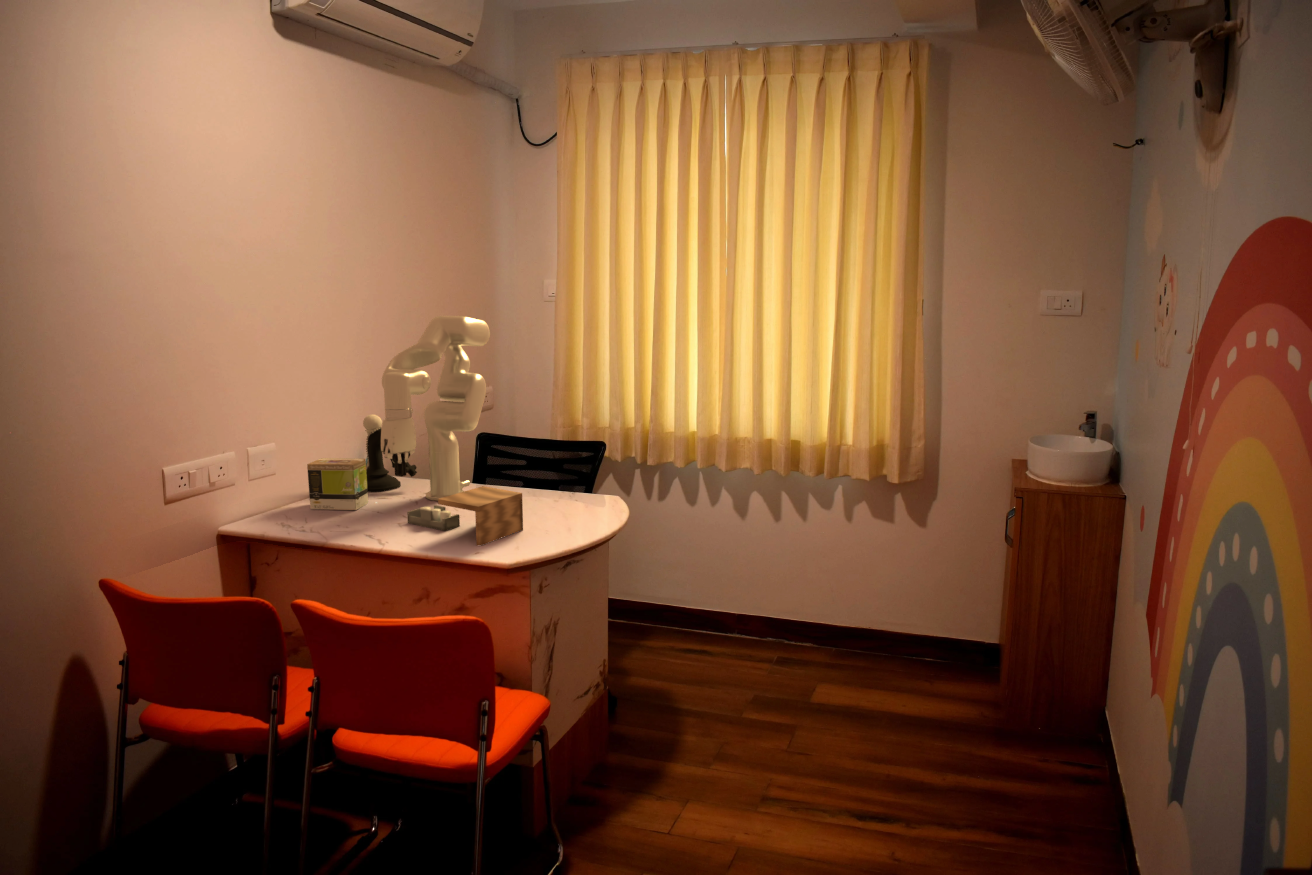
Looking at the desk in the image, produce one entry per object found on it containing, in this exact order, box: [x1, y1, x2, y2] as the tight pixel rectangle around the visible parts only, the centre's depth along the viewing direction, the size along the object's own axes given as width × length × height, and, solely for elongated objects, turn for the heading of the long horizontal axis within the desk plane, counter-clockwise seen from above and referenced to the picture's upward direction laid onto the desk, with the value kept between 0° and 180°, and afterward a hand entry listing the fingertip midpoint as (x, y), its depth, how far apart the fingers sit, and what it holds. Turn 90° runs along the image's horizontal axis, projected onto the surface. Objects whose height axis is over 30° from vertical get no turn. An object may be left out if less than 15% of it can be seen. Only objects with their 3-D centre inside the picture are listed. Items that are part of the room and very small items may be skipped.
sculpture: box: [362, 414, 418, 493], centre depth 309 cm, size 15×24×25 cm, turn 68°
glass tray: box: [406, 504, 461, 532], centre depth 267 cm, size 6×15×5 cm, turn 58°
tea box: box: [306, 457, 369, 511], centre depth 286 cm, size 15×10×15 cm, turn 84°
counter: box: [437, 485, 524, 546], centre depth 258 cm, size 18×15×11 cm
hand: (400, 475), depth 271 cm, fingers closed
